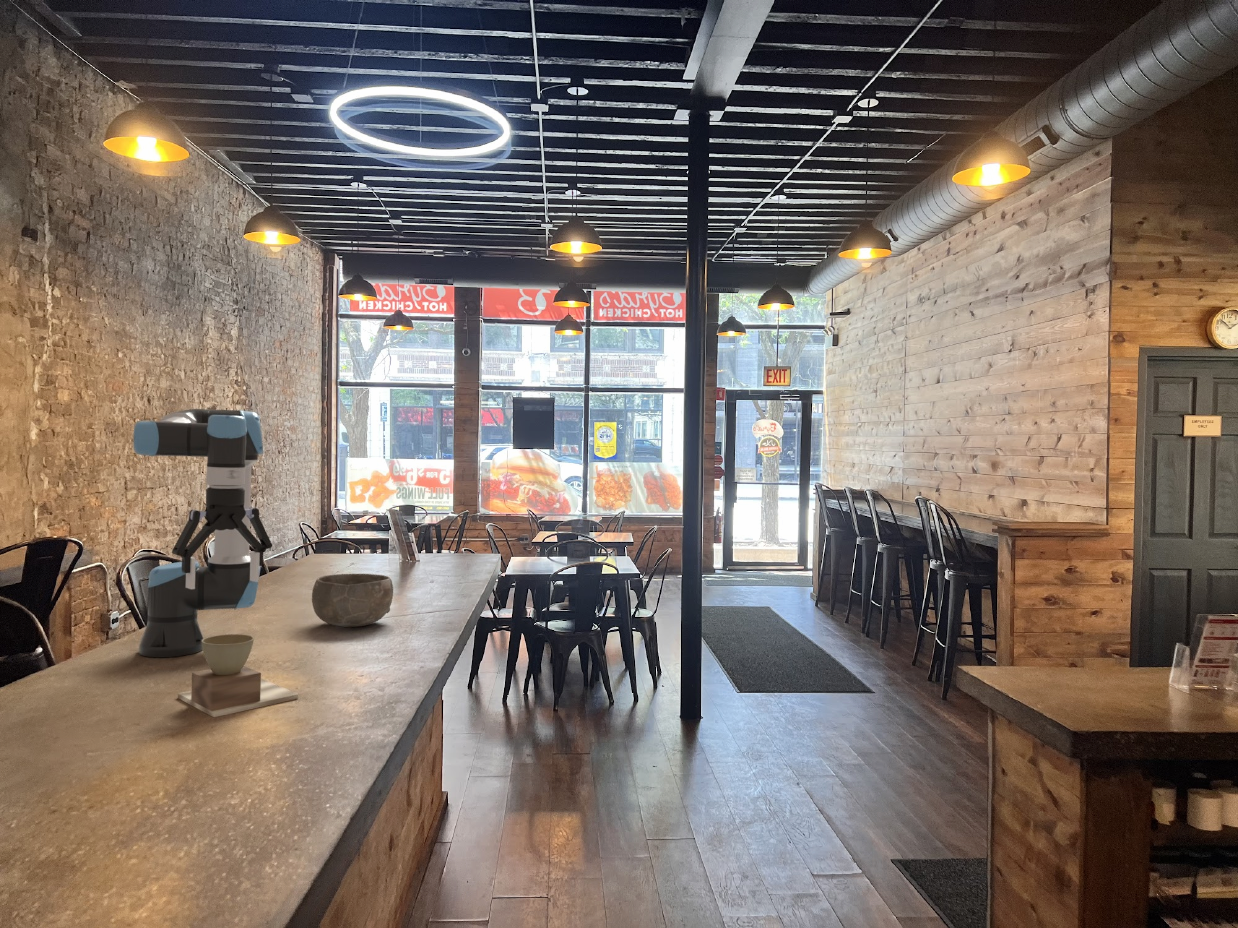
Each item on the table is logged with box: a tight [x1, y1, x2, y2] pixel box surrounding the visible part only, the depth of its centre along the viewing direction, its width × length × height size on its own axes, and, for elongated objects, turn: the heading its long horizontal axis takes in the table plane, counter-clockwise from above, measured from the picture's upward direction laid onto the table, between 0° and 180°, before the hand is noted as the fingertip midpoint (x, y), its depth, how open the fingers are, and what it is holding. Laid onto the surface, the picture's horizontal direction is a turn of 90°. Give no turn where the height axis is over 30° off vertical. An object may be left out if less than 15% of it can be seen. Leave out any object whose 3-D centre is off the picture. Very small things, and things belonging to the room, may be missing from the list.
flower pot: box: [202, 633, 255, 675], centre depth 171 cm, size 10×10×7 cm
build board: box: [177, 677, 299, 718], centre depth 176 cm, size 18×18×1 cm
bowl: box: [311, 573, 394, 628], centre depth 251 cm, size 24×24×15 cm
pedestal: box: [191, 665, 262, 711], centre depth 170 cm, size 10×10×6 cm
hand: (223, 584), depth 174 cm, fingers open, 13 cm apart
